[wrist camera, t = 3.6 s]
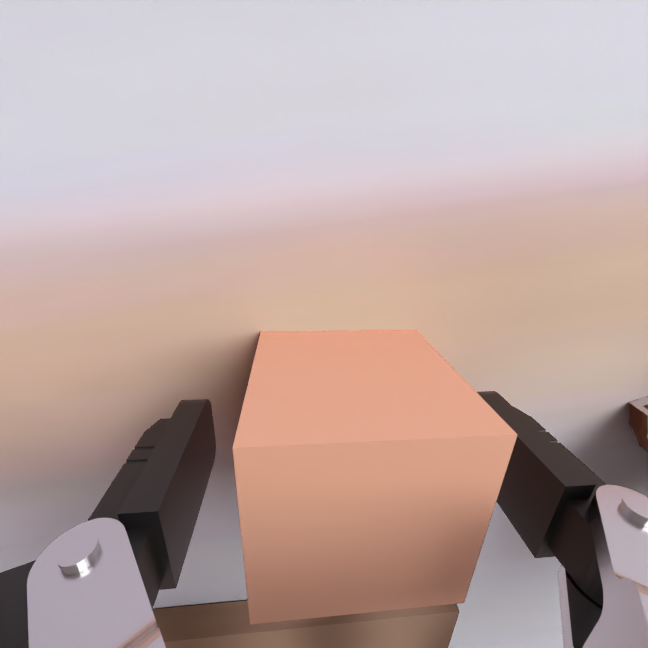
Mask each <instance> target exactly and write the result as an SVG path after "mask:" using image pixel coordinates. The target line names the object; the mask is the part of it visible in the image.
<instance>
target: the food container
mask: <svg viewBox="0 0 648 648" xmlns="http://www.w3.org/2000/svg"><path fill="white" fill-rule="evenodd" d="M629 424H630V426H631V429H632V431H633V433H634V435H635V437H636V439H637V441H638V443H639V445H640V446H641V447H642V448H644V449H645V450H646V451H647V452H648V396H647V397H643V398H640V399H637V400H634V401H631V402H629Z"/></svg>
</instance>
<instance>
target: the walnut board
mask: <svg viewBox="0 0 648 648" xmlns="http://www.w3.org/2000/svg"><path fill="white" fill-rule="evenodd" d="M152 611H153V614H154V617H155V620H156V622H157V624H158V626H159V629H160V632H161V635H162V638H163V641H164V644H165V646H166V648H448V646H449V643H450V640H451V636H452V633H453V630H454V627H455V624H456V621H457V617H458V614H459V609H458V606H457V604H447V605H437V606H427V607H418V608H408V609H398V610H388V611H378V612H368V613H359V614H349V615H339V616H329V617H319V618H309V619H299V620H290V621H280V622H270V623H260V624H250V618H249V608H248V600H247V601H236V602H225V603H215V604H204V605H193V606H183V607H172V608H161V609H152Z"/></svg>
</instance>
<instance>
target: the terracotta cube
mask: <svg viewBox="0 0 648 648" xmlns="http://www.w3.org/2000/svg"><path fill="white" fill-rule="evenodd" d="M516 438H517V434H516V432H515V431H514V430H513V429H512V428H511V427H510V426H509V425H508V424H507V423H506V422H505V421H504V420H503V419H502V418H501V417H500V416H499V415H498V414H497V413H496V412H495V411H494V410H493V409H492V408H491V407H490V406H489V405H488V404H487V403H486V402H485V400H484V399H483V398H482V397H481V396H480V395H479V394H478V393H477V392H476V391H475V390H474V389H473V388H472V387H471V386H470V385H469V384H468V383H467V382H466V381H465V380H464V379H463V378H462V377H461V376H460V375H459V374H458V373H457V372H456V371H455V369H454V368H453V367H452V366H451V365H450V364H449V363H448V362H447V361H446V360H445V359H444V358H443V357H442V356H441V355H440V354H439V353H438V352H437V351H436V350H435V349H434V348H433V347H432V346H431V345H430V344H429V343H428V342H427V341H426V340H425V339H424V337H423V336H422V335H421V334H420V333H419V332H418V331H417V330H360V331H261V333H260V337H259V341H258V345H257V349H256V353H255V357H254V361H253V365H252V370H251V374H250V378H249V382H248V386H247V390H246V394H245V398H244V402H243V407H242V411H241V415H240V419H239V423H238V427H237V431H236V435H235V439H234V444H233V458H234V468H235V478H236V488H237V498H238V508H239V518H240V528H241V538H242V548H243V558H244V568H245V578H246V588H247V598H248V608H249V618H250V624H260V623H270V622H280V621H290V620H299V619H309V618H319V617H329V616H339V615H349V614H359V613H368V612H378V611H388V610H398V609H408V608H418V607H427V606H437V605H447V604H457V603H464V601H465V598H466V595H467V591H468V588H469V585H470V582H471V579H472V576H473V573H474V570H475V566H476V563H477V560H478V557H479V554H480V551H481V548H482V545H483V541H484V538H485V535H486V532H487V529H488V526H489V523H490V520H491V516H492V513H493V510H494V507H495V504H496V501H497V498H498V495H499V491H500V488H501V485H502V482H503V479H504V476H505V473H506V470H507V466H508V463H509V460H510V457H511V454H512V451H513V448H514V445H515V441H516Z"/></svg>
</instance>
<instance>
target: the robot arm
mask: <svg viewBox="0 0 648 648" xmlns="http://www.w3.org/2000/svg"><path fill="white" fill-rule="evenodd" d="M477 393H478V394H479V395H480V396H481V397H482V398H483V399H484V400H485V402H486V403H487V404H488V405H489V406H490V407H491V408H492V409H493V410H494V411H495V412H496V413H497V414H498V415H499V416H500V417H501V418H502V419H503V420H504V421H505V422H506V423H507V424H508V425H509V426H510V427H511V428H512V429H513V430H514V431H515V432H516V434H517V438H516V441H515V445H514V448H513V451H512V454H511V457H510V460H509V463H508V466H507V470H506V473H505V476H504V479H503V482H502V485H501V488H500V491H499V495H498V498H497V503H498V504H499V506H500V507H501V508H502V510H503V511H504V513H505V514H506V516H507V517H508V519H509V520H510V522H511V523H512V525H513V526H514V528H515V529H516V530H517V532H518V533H519V535H520V536H521V538H522V539H523V541H524V542H525V544H526V545H527V547H528V548H529V550H530V551H531V552H532V554H533V555H534V557H535V558H542V557H553V556H556V557H557V559H558V560H559V561H560V563H561V566H560V568H559V571H558V582H559V595H560V607H561V620H562V632H563V645H564V648H648V497H646V496H645V495H643V494H641V493H638V492H636V491H634V490H631V489H628V488H625V487H622V486H617V485H606V484H605V483H604V482H603V481H602V480H601V479H600V478H599V477H597V476H596V475H595V474H594V473H593V472H592V471H591V470H590V469H589V468H587V467H586V466H585V465H584V464H583V463H582V462H581V461H580V460H579V459H577V458H576V457H575V456H574V455H573V454H572V453H571V452H570V451H569V450H567V449H566V448H565V447H564V446H563V445H562V444H561V443H558V442H557V440H556V439H555V438H554V437H553V436H552V435H551V434H550V433H549V432H546V431H545V429H544V428H543V427H542V426H541V425H540V424H539V423H537V422H536V421H535V420H534V419H533V418H532V417H530V416H529V415H527V414H525V413H523V412H522V411H520V410H518V409H517V408H515V407H512V406H511V405H510V404H509V403H508V402H507V401H506V400H505V399H504V398H503V397H502V396H501V395H499V394H498V393H497V392H494V391H488V392H477ZM215 450H216V441H215V432H214V424H213V416H212V408H211V403H210V401H209V400H208V399H207V400H182V401H181V402H180V403H179V405H178V406H177V408H176V410H175V412H174V414H173V415H172V417H171V418H170V419H160V420H159V421H157V422H156V423H155V424H154V425H153V426H151V427H150V428H149V429H148V430H146V431H145V432H144V434H143V435H142V437H141V439H140V440H139V442H138V443H137V445H136V446H135V450H133V451H132V453H131V454H130V456H129V457H128V459H127V462H126V464H124V465H123V467H122V468H121V470H120V471H119V473H118V474H117V476H116V478H115V479H114V481H113V482H112V484H111V485H110V487H109V489H108V490H107V492H106V493H105V495H104V496H103V498H102V499H101V501H100V503H99V504H98V506H97V507H96V509H95V510H94V512H93V513H92V515H91V517H90V518H89V519H88V521H86V522H83V523H81V524H79V525H77V526H75V527H73V528H71V529H69V530H68V531H66V532H65V533H63V534H62V535H60V536H59V537H58V538H56V539H55V540H54V541H53V542H52V543H51V544H50V545H49V546H47V547H46V548H45V549H44V551H43V552H42V553H41V554H40V555H39V557H38V558H37V560H35V561H32V562H30V563H27V564H25V565H22V566H19V567H16V568H13V569H10V570H7V571H4V572H2V573H0V648H166V646H165V644H164V641H163V638H162V635H161V632H160V629H159V626H158V624H157V622H156V620H155V617H154V614H153V611H152V609H153V606H154V603H155V600H156V597H157V594H158V591H159V590H160V589H172V588H176V586H177V583H178V580H179V576H180V573H181V570H182V566H183V563H184V560H185V556H186V553H187V550H188V547H189V543H190V540H191V537H192V533H193V530H194V527H195V523H196V520H197V517H198V513H199V510H200V507H201V503H202V500H203V497H204V493H205V490H206V487H207V483H208V480H209V477H210V473H211V470H212V467H213V463H214V459H215Z"/></svg>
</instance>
